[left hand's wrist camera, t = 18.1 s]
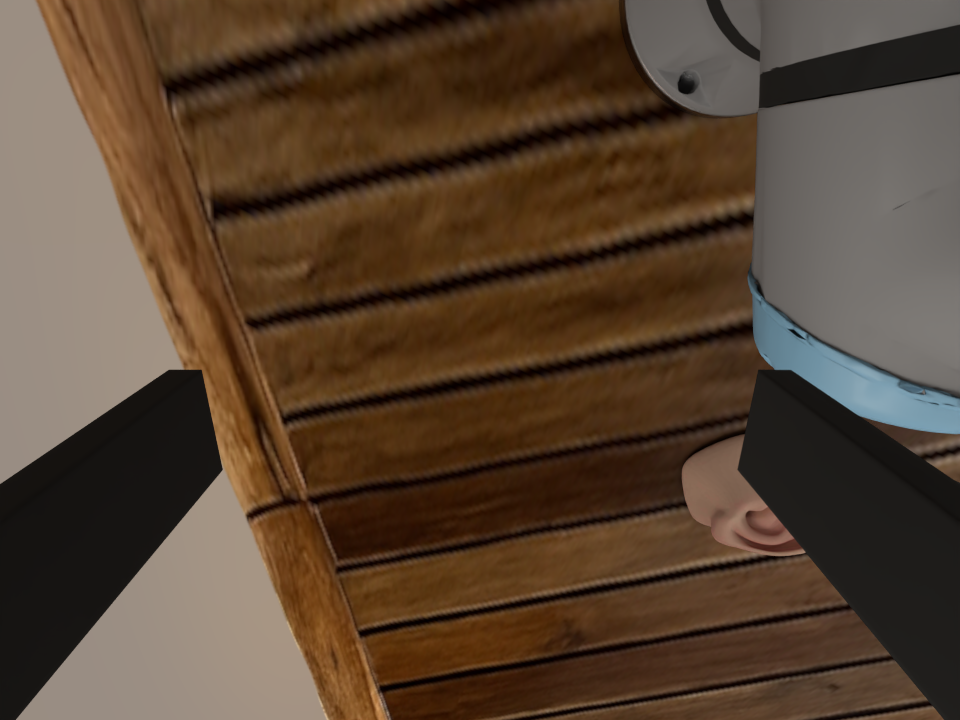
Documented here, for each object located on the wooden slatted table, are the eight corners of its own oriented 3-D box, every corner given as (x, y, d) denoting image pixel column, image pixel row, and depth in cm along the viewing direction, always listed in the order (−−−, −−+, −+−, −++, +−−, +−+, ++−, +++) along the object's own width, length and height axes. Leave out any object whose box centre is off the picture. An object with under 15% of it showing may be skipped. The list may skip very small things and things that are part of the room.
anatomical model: (672, 505, 43) (796, 423, 40) (657, 478, 47) (769, 401, 44) (756, 596, 46) (875, 526, 44) (736, 564, 50) (844, 498, 47)
